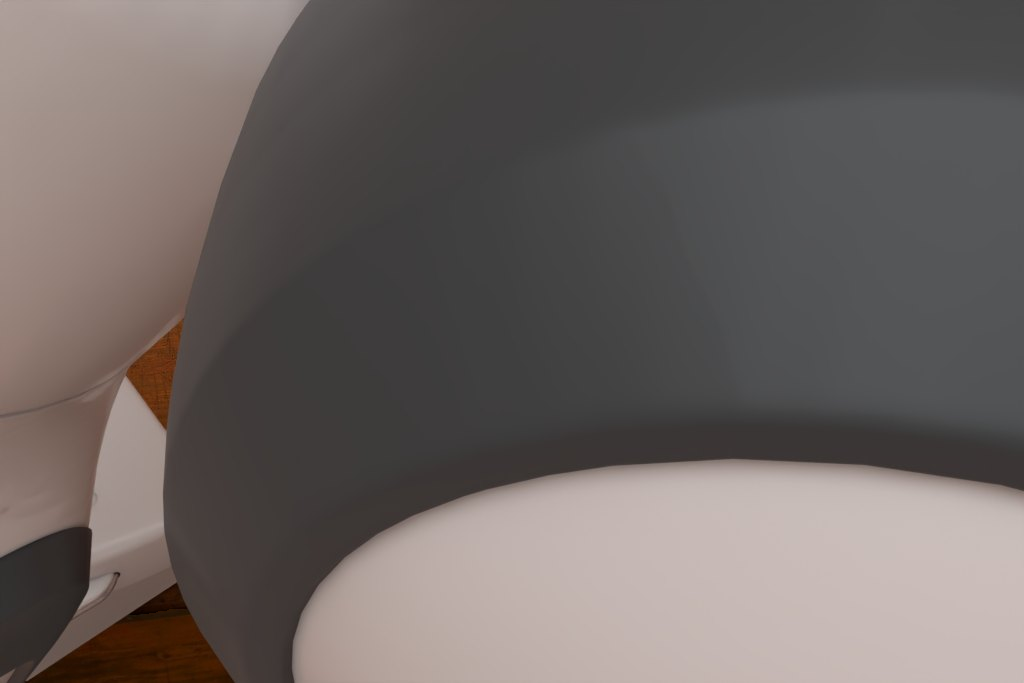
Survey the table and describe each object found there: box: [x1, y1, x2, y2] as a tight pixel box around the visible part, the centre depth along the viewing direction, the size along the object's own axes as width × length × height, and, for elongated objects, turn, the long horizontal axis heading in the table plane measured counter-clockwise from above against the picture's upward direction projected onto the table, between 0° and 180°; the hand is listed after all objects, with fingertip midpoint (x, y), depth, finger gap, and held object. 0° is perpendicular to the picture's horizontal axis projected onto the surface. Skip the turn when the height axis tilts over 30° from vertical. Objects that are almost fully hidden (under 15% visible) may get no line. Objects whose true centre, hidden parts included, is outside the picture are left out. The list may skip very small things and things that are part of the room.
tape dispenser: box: [25, 567, 177, 682], centre depth 64 cm, size 19×9×6 cm, turn 133°
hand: (199, 324), depth 52 cm, fingers open, 8 cm apart
